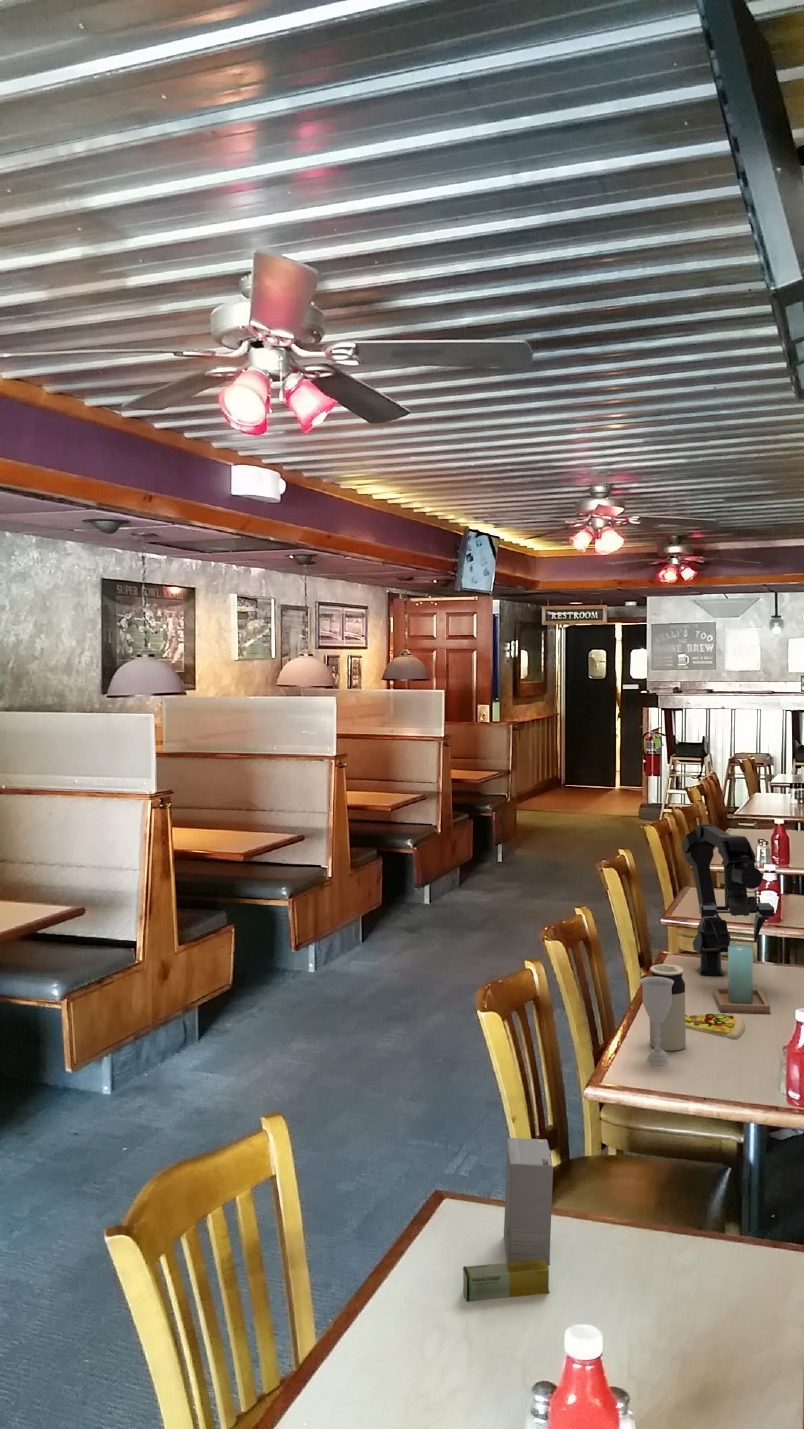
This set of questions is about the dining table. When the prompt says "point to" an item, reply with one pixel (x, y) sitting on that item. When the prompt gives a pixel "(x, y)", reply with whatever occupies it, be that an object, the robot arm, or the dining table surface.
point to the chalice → (657, 1011)
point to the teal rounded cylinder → (740, 974)
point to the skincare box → (528, 1200)
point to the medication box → (505, 1280)
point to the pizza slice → (717, 1024)
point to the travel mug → (671, 1010)
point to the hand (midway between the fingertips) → (737, 942)
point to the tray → (756, 1007)
